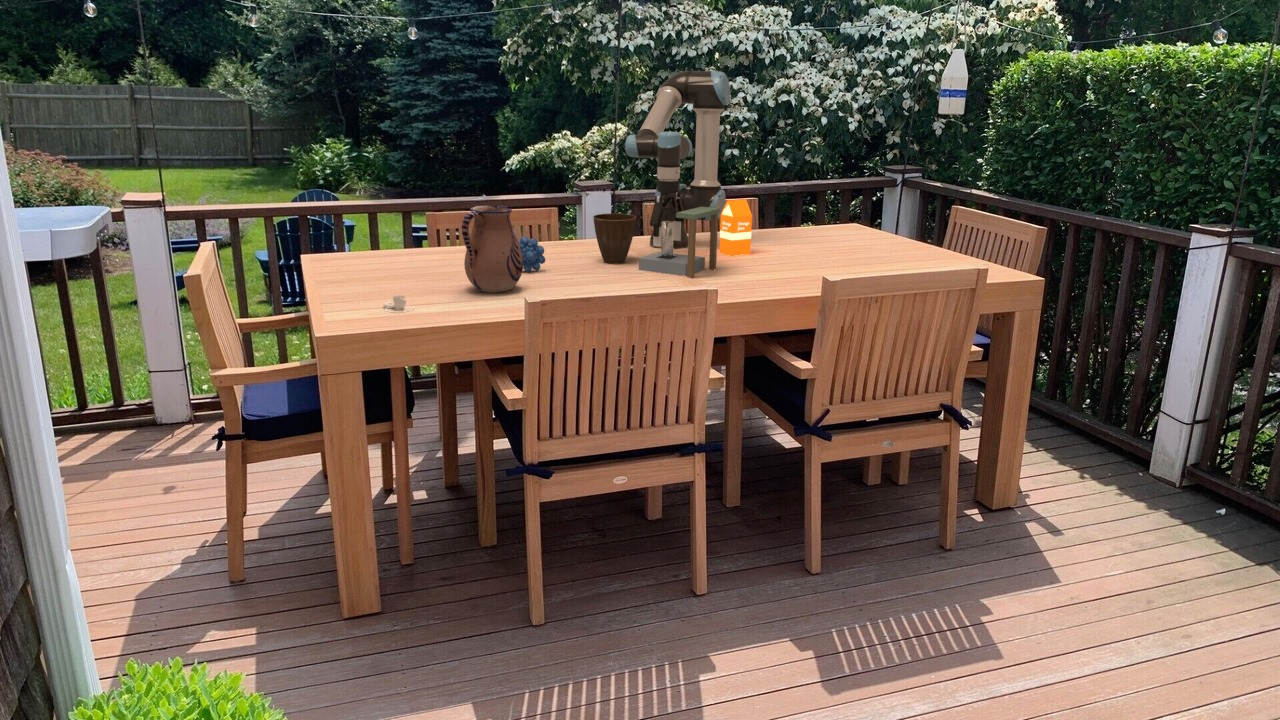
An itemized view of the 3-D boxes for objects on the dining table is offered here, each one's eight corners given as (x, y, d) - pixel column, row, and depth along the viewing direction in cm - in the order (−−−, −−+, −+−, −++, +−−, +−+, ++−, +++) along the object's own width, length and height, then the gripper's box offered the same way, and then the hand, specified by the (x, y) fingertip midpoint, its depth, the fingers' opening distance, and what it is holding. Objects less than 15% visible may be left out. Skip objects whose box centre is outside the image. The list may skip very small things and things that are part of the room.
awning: (674, 275, 304) (676, 212, 298) (699, 266, 319) (701, 206, 312) (693, 278, 300) (695, 214, 294) (717, 269, 315) (720, 208, 309)
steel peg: (669, 270, 312) (670, 223, 308) (658, 269, 314) (659, 222, 310) (674, 268, 316) (675, 221, 311) (664, 267, 318) (665, 220, 313)
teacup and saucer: (380, 308, 259) (379, 294, 258) (407, 305, 263) (407, 291, 262) (389, 315, 252) (388, 301, 251) (417, 312, 256) (417, 297, 255)
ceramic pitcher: (534, 286, 286) (532, 205, 278) (497, 301, 267) (494, 214, 260) (486, 281, 292) (483, 202, 285) (447, 295, 274) (442, 210, 267)
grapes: (514, 275, 301) (513, 239, 298) (509, 271, 307) (508, 235, 304) (548, 273, 305) (548, 237, 302) (543, 269, 311) (543, 234, 308)
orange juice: (750, 254, 342) (753, 200, 336) (731, 256, 337) (733, 201, 331) (737, 251, 348) (740, 197, 342) (718, 253, 344) (720, 199, 338)
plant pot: (643, 264, 322) (643, 218, 317) (604, 267, 316) (604, 220, 311) (624, 256, 335) (624, 212, 330) (586, 259, 328) (586, 214, 323)
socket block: (638, 269, 313) (638, 258, 311) (658, 263, 324) (659, 251, 323) (685, 275, 304) (685, 264, 303) (704, 268, 315) (705, 257, 314)
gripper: (659, 184, 294) (658, 249, 300) (695, 177, 315) (693, 239, 321) (639, 182, 298) (638, 247, 304) (676, 175, 318) (675, 237, 324)
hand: (667, 243), depth 312 cm, fingers open, 13 cm apart
